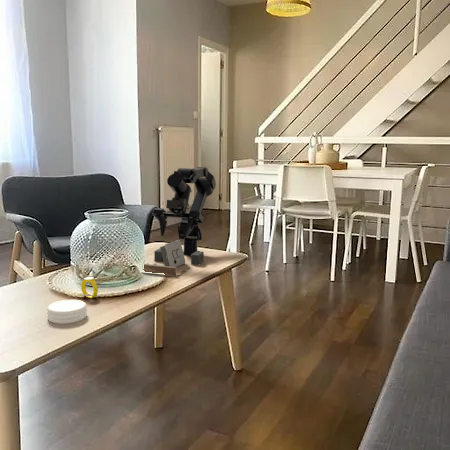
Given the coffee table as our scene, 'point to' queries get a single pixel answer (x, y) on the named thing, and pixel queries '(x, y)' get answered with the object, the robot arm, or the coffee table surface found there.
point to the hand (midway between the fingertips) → (173, 236)
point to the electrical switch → (173, 254)
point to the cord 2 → (197, 258)
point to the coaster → (66, 311)
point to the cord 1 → (158, 255)
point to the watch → (95, 288)
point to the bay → (162, 269)
